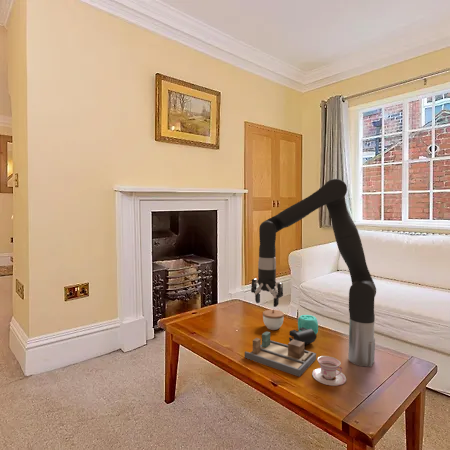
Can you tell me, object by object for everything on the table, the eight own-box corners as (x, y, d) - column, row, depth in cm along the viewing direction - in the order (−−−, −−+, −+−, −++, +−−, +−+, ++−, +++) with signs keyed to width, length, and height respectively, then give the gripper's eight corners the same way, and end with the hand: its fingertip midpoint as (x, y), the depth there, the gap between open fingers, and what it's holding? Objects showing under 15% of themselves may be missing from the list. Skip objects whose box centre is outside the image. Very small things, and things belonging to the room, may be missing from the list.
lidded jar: (283, 332, 157) (284, 313, 157) (262, 331, 159) (262, 312, 158) (283, 324, 168) (283, 307, 167) (262, 323, 169) (263, 305, 169)
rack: (316, 359, 130) (316, 353, 130) (299, 376, 116) (299, 370, 116) (264, 343, 144) (264, 338, 144) (244, 357, 131) (244, 351, 131)
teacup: (305, 376, 117) (306, 360, 116) (322, 365, 125) (322, 350, 125) (336, 390, 108) (337, 373, 108) (352, 377, 116) (352, 361, 116)
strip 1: (302, 366, 122) (302, 350, 122) (296, 371, 118) (297, 354, 118) (257, 351, 134) (257, 336, 134) (251, 356, 130) (251, 341, 130)
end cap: (299, 350, 138) (299, 335, 137) (288, 344, 144) (288, 329, 143) (315, 345, 143) (316, 330, 143) (304, 339, 149) (304, 325, 149)
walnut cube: (304, 354, 130) (304, 342, 130) (299, 358, 126) (299, 346, 126) (293, 350, 133) (293, 339, 133) (287, 355, 129) (288, 343, 129)
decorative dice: (318, 336, 152) (318, 320, 152) (301, 336, 152) (301, 320, 152) (313, 330, 160) (313, 314, 160) (297, 330, 160) (297, 314, 160)
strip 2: (311, 357, 130) (311, 341, 129) (303, 364, 123) (304, 348, 123) (268, 344, 142) (268, 329, 141) (259, 350, 135) (259, 335, 135)
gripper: (286, 268, 135) (285, 305, 136) (257, 264, 143) (256, 299, 144) (278, 270, 129) (277, 310, 130) (248, 266, 137) (247, 303, 138)
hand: (266, 304), depth 137 cm, fingers open, 8 cm apart
